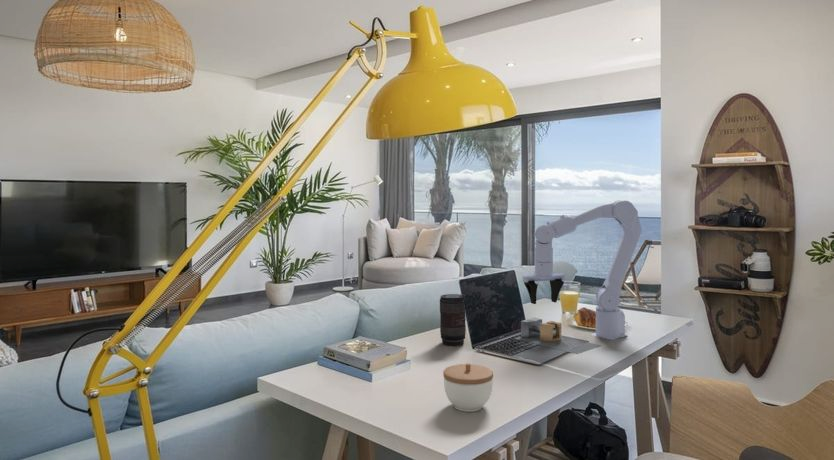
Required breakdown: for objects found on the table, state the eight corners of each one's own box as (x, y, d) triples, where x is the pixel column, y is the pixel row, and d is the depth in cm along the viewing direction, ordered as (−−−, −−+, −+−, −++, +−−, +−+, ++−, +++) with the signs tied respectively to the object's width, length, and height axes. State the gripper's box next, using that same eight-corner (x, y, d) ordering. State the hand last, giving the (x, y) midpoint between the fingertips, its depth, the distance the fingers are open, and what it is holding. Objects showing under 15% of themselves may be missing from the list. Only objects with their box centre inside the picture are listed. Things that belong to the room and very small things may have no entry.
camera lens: (466, 340, 172) (465, 293, 171) (465, 347, 164) (465, 298, 163) (440, 339, 172) (440, 293, 172) (439, 346, 164) (438, 297, 164)
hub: (550, 337, 171) (550, 320, 171) (561, 340, 168) (561, 323, 168) (540, 340, 167) (540, 323, 167) (550, 343, 164) (550, 325, 164)
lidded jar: (459, 394, 124) (459, 354, 124) (501, 403, 118) (501, 361, 118) (434, 409, 116) (433, 366, 115) (478, 420, 110) (478, 375, 109)
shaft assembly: (534, 333, 177) (534, 317, 176) (561, 339, 169) (561, 323, 168) (521, 337, 172) (521, 320, 172) (548, 343, 164) (548, 326, 164)
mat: (539, 333, 179) (539, 331, 179) (601, 347, 161) (601, 345, 161) (513, 340, 171) (513, 338, 171) (576, 355, 153) (576, 353, 153)
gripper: (530, 264, 171) (530, 306, 172) (570, 262, 175) (569, 303, 176) (519, 261, 178) (519, 302, 178) (558, 259, 182) (558, 299, 183)
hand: (543, 302), depth 178 cm, fingers open, 7 cm apart
